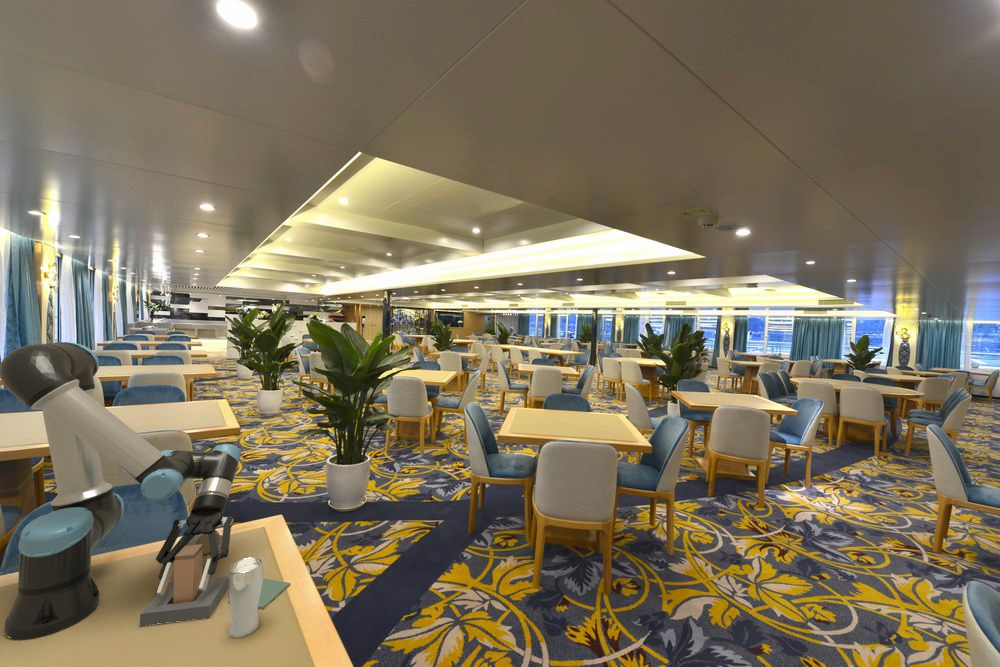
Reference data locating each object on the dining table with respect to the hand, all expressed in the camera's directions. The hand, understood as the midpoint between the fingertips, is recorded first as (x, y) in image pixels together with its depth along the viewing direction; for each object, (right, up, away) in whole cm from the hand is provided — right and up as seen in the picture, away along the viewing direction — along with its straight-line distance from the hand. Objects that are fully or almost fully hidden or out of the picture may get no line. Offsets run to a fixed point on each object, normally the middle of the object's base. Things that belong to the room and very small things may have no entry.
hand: (181, 591), depth 98 cm
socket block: (-1, -6, +3) cm, 7 cm away
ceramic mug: (-15, -5, +29) cm, 33 cm away
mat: (+14, -6, +9) cm, 18 cm away
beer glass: (+17, -7, -3) cm, 19 cm away
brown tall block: (-1, -6, +3) cm, 7 cm away
